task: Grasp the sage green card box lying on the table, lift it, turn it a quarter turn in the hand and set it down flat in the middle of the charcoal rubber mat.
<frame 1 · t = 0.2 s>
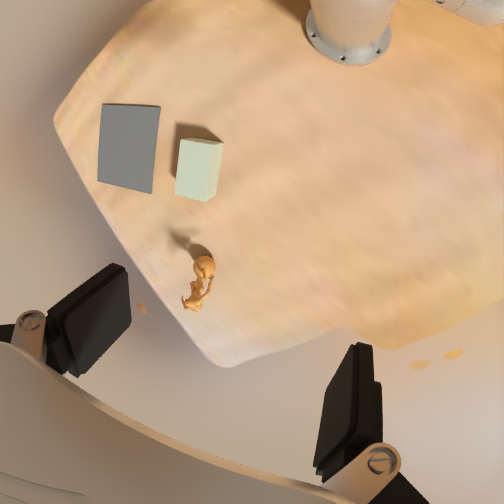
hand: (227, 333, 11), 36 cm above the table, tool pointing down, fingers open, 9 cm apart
figurine: (212, 265, 54), on the table
mat: (125, 146, 49), on the table
card box: (204, 166, 47), on the table
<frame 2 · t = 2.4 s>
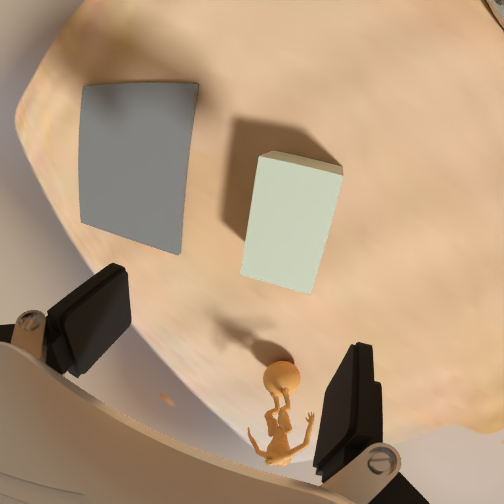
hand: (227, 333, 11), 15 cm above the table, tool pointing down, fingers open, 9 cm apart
figurine: (291, 369, 31), on the table
mat: (126, 162, 26), on the table
card box: (296, 210, 24), on the table
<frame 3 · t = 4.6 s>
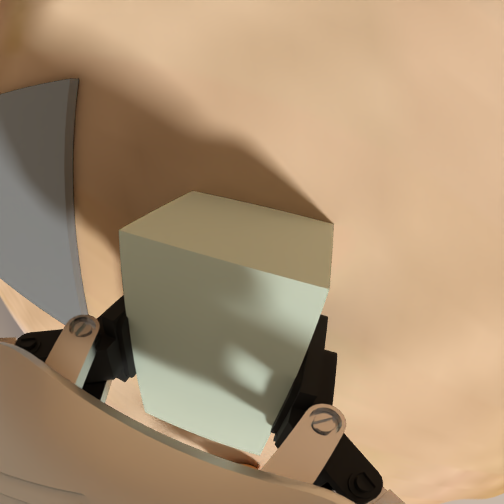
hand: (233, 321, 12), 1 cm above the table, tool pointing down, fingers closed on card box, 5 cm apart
mat: (17, 205, 15), on the table
card box: (243, 304, 13), on the table, touching gripper
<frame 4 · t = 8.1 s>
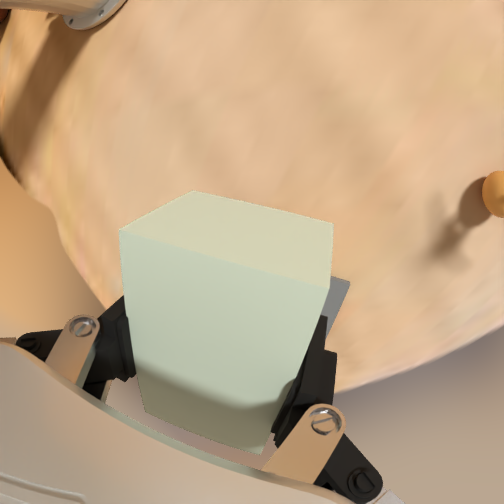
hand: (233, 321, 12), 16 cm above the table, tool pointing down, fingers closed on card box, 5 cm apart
figurine: (497, 183, 19), on the table
mat: (255, 313, 31), on the table
butternut squash: (4, 12, 22), on the table
card box: (243, 303, 13), point 14 cm above the table, touching gripper
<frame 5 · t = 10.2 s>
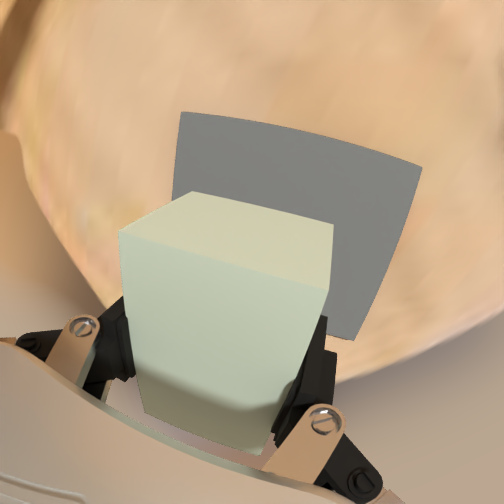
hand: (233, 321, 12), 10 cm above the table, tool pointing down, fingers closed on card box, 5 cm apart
mat: (278, 230, 20), on the table
card box: (243, 304, 13), point 9 cm above the table, touching gripper
when the fingers open (3 cm above the table, at t = 11.8 s): card box drops 1 cm, resting on mat.
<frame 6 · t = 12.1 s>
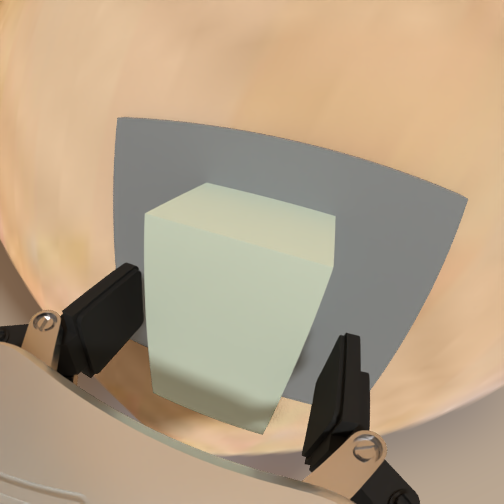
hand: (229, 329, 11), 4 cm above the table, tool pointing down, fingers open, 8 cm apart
mat: (253, 284, 14), on the table
card box: (249, 289, 14), point 1 cm above the table, touching mat
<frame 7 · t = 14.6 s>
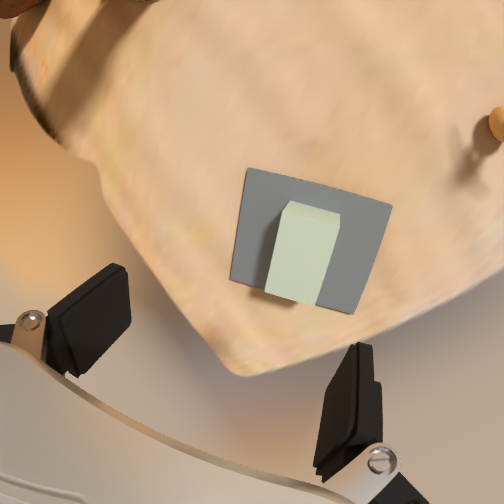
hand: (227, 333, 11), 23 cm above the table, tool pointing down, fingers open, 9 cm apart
figurine: (500, 120, 20), on the table
mat: (306, 244, 33), on the table
card box: (305, 245, 32), point 1 cm above the table, touching mat
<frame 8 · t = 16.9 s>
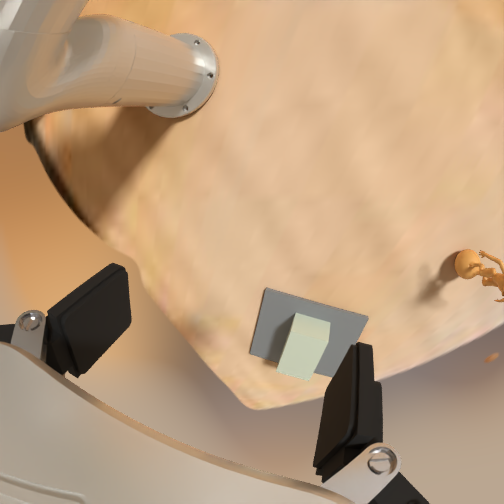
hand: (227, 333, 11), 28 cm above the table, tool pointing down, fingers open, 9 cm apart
figurine: (467, 253, 33), on the table
mat: (305, 336, 45), on the table
card box: (304, 338, 45), point 1 cm above the table, touching mat
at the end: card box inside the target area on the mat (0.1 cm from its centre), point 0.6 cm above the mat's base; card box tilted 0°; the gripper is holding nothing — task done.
